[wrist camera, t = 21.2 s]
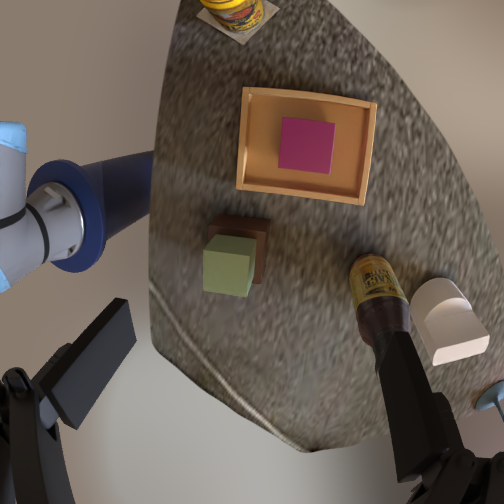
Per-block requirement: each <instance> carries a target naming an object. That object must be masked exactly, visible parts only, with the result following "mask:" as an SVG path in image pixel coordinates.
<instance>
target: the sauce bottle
mask: <svg viewBox="0 0 504 504" xmlns="http://www.w3.org/2000/svg"><path fill="white" fill-rule="evenodd" d="M349 282H350V287H351V292H352V297H353V302H354V308H355V314H356V319H357V322H358V327H359V332H360V335H361V337H362V339H363V341H364V342H365V343H366V344H368V345H369V346H371V347H372V348H373V352H374V353H375V358H376V363H375V371H376V375H377V379H378V381H380V378H379V374H378V371H379V368H380V366H381V364H382V361H383V359H384V357H385V354H386V352H387V349H388V347H389V344H390V342H391V339H392V336H393V334H394V331H405V332H409V334H410V307H409V304H408V301H407V299H406V297H405V295H404V292H403V290H402V288H401V286H400V284H399V282H398V280H397V278H396V276H395V274H394V272H393V270H392V267H391V266H390V264H389V263H388V262H387V261H386V260H385V259H384V258H383V257H382V256H380V255H377V254H365V255H363V256H360V257H359V258H357V260H356V261H355V262H354V263H353V265H352V266H351V268H350V275H349Z"/></svg>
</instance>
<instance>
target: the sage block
mask: <svg viewBox="0 0 504 504" xmlns="http://www.w3.org/2000/svg"><path fill="white" fill-rule="evenodd" d="M256 243H257V239H251V238H243V237H235V236H227V235H219V234H216V235H215V236H214V237H213V238H212V240H211V241H210V242H209V243H208V245H207V246H206V247H205V248H204V250H203V290H204V291H210V292H217V293H223V294H229V295H236V296H242V297H247V295H248V292H249V289H250V286H251V283H252V280H253V277H254V266H255V254H256Z"/></svg>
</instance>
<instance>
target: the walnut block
mask: <svg viewBox="0 0 504 504" xmlns="http://www.w3.org/2000/svg"><path fill="white" fill-rule="evenodd" d="M269 228H270V220H267V219H259V218H250V217H241V216H232V215H223V214H219V215H218V216H217V217H216V218H215V219H214V220H213V221H212V222H211V223H210V224H209V225H208V243H209V242H210V241H211V240H212V238H213V237H214V236H215V235H216V234H219V235H227V236H235V237H243V238H251V239H257V243H256V254H255V266H254V277H253V280H252V283H255V284H261V282H262V278H263V275H264V271H265V267H266V258H267V248H268V238H269Z"/></svg>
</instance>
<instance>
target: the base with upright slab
mask: <svg viewBox="0 0 504 504" xmlns="http://www.w3.org/2000/svg"><path fill="white" fill-rule="evenodd" d="M410 315H411V318H412V320H413V322H414V324H415V326H416V328H417V330H418V333H419V335H420V337H421V339H422V341H423V343H424V345H425V347H426V350H427V352H428V354H429V357H430V359H431V361H432V364H433V366H435V365H439V364H443V363H447V362H451V361H455V360H459V359H462V358H466V357H469V356H473V355H476V354H479V353H483V352H484V351H485V350H486V348H487V345H488V343H489V338H490V335H489V334H488V332H487V331H486V329H485V328H484V326H483V325H482V323H481V322H480V321H479V319H478V318H477V316H476V315H475V314H474V312H473V311H472V307H471V305H470V303H469V302H468V301H467V299H466V298H465V297H464V295H463V294H462V293H461V292H460V290H459V289H458V288H457V287H456V285H455V284H454V283H453V282H452V281H451V280H449V279H447V278H443V277H442V278H434V279H431V280H429V281H427V282H425V283H424V284H423V285H422V286H420V287H419V288H418V289H417V291H416V292H415V293H414V295H413V297H412V299H411V302H410Z"/></svg>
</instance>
